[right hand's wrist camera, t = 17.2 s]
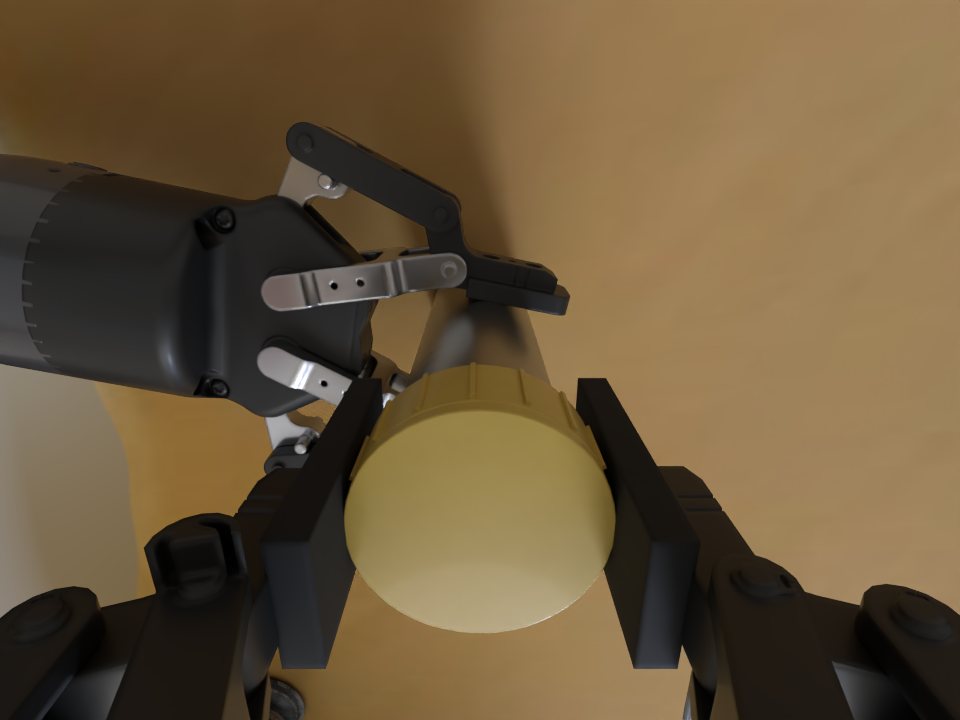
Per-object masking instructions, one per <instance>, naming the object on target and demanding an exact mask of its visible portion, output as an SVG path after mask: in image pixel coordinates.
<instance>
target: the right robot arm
mask: <svg viewBox="0 0 960 720" xmlns="http://www.w3.org/2000/svg"><path fill="white" fill-rule="evenodd" d="M383 409H384V405H383V392H382V378H354V379H353V380H352V382H351V384H350V386H349V387H348V389H347V391H346V392H345V394H344V396H343V398H342V399H341V401H340V403H339V405H338V406H337V408H336V410H335V411H334V413H333V415H332V417H331V418H330V420H329V422H328V423H327V425H326V427H325V429H324V430H323V432H322V434H321V435H320V437H319V439H318V441H317V442H316V444H315V446H314V447H313V449H312V451H311V453H310V454H309V456H308V458H307V460H306V461H305V463H304V465H303V466H302V468H276V469H274V470H273V471H271V472H270V473H269V474H267V475H266V476H265V477H263V478H262V479H260V480H259V481H258V482H257V483H256V485H255V486H254V488H253V489H252V490H251V492H250V493H249V495H248V496H247V500H245V501H244V502H243V503H242V505H241V506H240V508H239V509H238V513H235V515H234V516H233V517H232V516H229V515H225V514H221V513H204V514H198V515H195V516H191V517H187V518H183V519H181V520H179V521H177V522H175V523H173V524H170V525H168V526H166V527H165V528H164V529H162V530H161V531H160V532H158V533H157V534H155V535H154V536H153V537H152V538H151V539H150V541H149V542H148V543H147V545H146V546H145V547H144V550H145V554H146V557H147V561H148V565H149V568H150V572H151V575H152V579H153V582H154V586H155V589H156V593H155V594H153V595H150V596H147V597H143V598H140V599H135V600H131V601H127V602H123V603H119V604H114V605H110V606H105V607H101V608H100V605H99V602H98V599H97V596H96V595H95V594H94V593H93V592H92V591H91V590H89V589H88V588H82V587H75V586H72V587H66V588H59V589H54V590H51V591H48V592H45V593H43V594H40V595H37V596H34V597H32V598H30V599H28V600H27V601H25V602H23V603H21V604H19V605H18V606H16V607H14V608H12V609H11V610H10V611H9V612H7V613H6V614H5V615H4V616H2V617H1V618H0V720H269V711H270V701H271V684H270V677H269V672H268V669H269V666H270V664H271V661H272V659H273V657H274V654H275V652H276V649H277V647H278V649H279V654H280V659H281V665H282V669H326V666H327V663H328V660H329V656H330V653H331V650H332V646H333V643H334V640H335V637H336V633H337V630H338V627H339V623H340V620H341V617H342V614H343V610H344V607H345V604H346V600H347V597H348V594H349V590H350V587H351V584H352V581H353V577H354V574H355V571H356V567H355V565H354V563H353V561H352V559H351V556H350V553H349V551H348V548H347V543H346V535H345V525H344V508H345V501H346V497H347V494H348V491H349V488H350V485H351V482H352V481H350V480H349V477H350V474H351V472H352V469H353V467H354V465H355V462H356V460H357V457H358V455H359V453H360V450H361V448H362V445H363V443H364V441H365V438H366V436H370V435H371V432H372V430H373V428H374V426H375V424H376V422H377V420H378V418H379V417H380V415H381V414H382V412H383ZM576 411H577V413H578V414H579V416H580V417H581V419H582V420H583V422H584V424H585V426H588V425H589V426H590V429H591V431H592V433H593V436H594V438H595V441H596V443H597V445H598V448H599V450H600V453H601V455H602V457H603V460H604V462H605V465H606V467H607V468H606V469H604V470H603V471H604V473H605V476H606V478H607V481H608V483H609V486H610V488H611V492H612V495H613V499H614V502H615V511H616V522H615V532H614V540H613V547H612V550H611V553H610V555H609V558H608V561H607V563H606V564H605V566H604V572H605V575H606V578H607V582H608V585H609V588H610V591H611V595H612V598H613V601H614V605H615V608H616V611H617V615H618V618H619V621H620V624H621V628H622V631H623V634H624V638H625V641H626V644H627V647H628V651H629V654H630V657H631V661H632V664H633V667H634V669H677V668H678V663H679V658H680V652H681V647H682V645H683V648H684V650H685V652H686V655H687V657H688V660H689V662H690V664H691V667H692V672H691V677H690V682H689V687H688V693H687V698H686V703H685V708H684V714H683V720H690V718H691V720H960V615H959V614H957V613H956V612H955V611H954V610H952V609H951V608H950V607H949V606H947V605H945V604H944V603H942V602H940V601H938V600H936V599H934V598H933V597H931V596H929V595H927V594H924V593H922V592H919V591H916V590H913V589H910V588H907V587H903V586H897V585H890V584H883V585H876V586H872V587H870V588H869V589H868V590H867V591H866V592H865V593H864V595H863V598H862V601H861V604H860V605H855V604H851V603H847V602H843V601H838V600H834V599H830V598H825V597H821V596H817V595H814V594H810V593H807V592H804V590H803V588H802V587H801V585H800V584H799V582H798V581H797V579H796V578H795V577H794V576H793V575H791V574H790V573H789V572H788V571H787V570H785V569H784V568H783V567H781V566H779V565H777V564H776V563H774V562H772V561H770V560H768V559H766V558H762V557H759V556H755V555H754V553H753V552H752V550H751V549H750V547H749V546H748V545H747V543H746V542H745V540H744V539H743V537H742V536H741V535H740V533H739V532H738V530H737V529H736V527H735V526H734V525H733V523H732V522H731V520H730V519H729V517H728V516H727V515H726V513H725V512H724V511H722V507H721V506H720V505H719V503H718V502H717V500H716V499H715V498H713V495H712V493H711V492H710V490H709V489H708V487H707V486H706V484H705V483H704V482H703V480H702V479H701V478H699V477H698V476H696V475H695V474H694V473H692V472H691V471H689V470H688V469H687V468H685V467H684V466H657V465H656V464H655V462H654V460H653V458H652V457H651V455H650V453H649V451H648V450H647V448H646V446H645V445H644V443H643V441H642V439H641V438H640V436H639V434H638V433H637V431H636V429H635V427H634V426H633V424H632V422H631V421H630V419H629V417H628V415H627V414H626V412H625V410H624V409H623V407H622V405H621V403H620V402H619V400H618V398H617V396H616V395H615V393H614V391H613V390H612V388H611V386H610V384H609V383H608V381H607V379H606V378H578V387H577V401H576Z"/></svg>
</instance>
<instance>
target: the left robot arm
mask: <svg viewBox="0 0 960 720" xmlns="http://www.w3.org/2000/svg"><path fill="white" fill-rule="evenodd" d="M286 145H287V148H288V150H289V152H290V154H291V158H290V161H289V164H288V166H287V169H286V172H285V175H284V177H283V180H282V183H281V186H280V188H279V191H278V194H277V195H270V196H265V197H262V198H260V199H257V200H242V199H237V198H232V197H227V196H222V195H217V194H213V193H208V192H203V191H198V190H193V189H188V188H183V187H178V186H173V185H169V184H164V183H159V182H154V181H149V180H144V179H139V178H134V177H129V176H125V175H120V174H115V173H110V172H108V171H107V170H104V169H102V168H98V167H95V166H91V165H87V164H82V163H77V162H73V163H67V164H66V163H61V162H57V161H52V160H46V159H40V158H34V157H27V156H18V155H7V154H0V364H5V365H10V366H15V367H21V368H26V369H32V370H38V371H43V372H49V373H54V374H60V375H65V376H71V377H77V378H82V379H88V380H93V381H99V382H105V383H111V384H116V385H122V386H128V387H133V388H139V389H145V390H150V391H156V392H161V393H167V394H173V395H178V396H184V397H193V398H224V399H229V400H231V401H234V402H236V403H238V404H240V405H242V406H243V407H245V408H246V409H248V410H249V411H250V412H252V413H254V414H256V415H258V416H262V417H264V418H265V422H266V426H267V430H268V434H269V438H270V442H271V446H272V453H271V454H270V456H269V457H268V459H267V460H266V462H265V464H264V471H265V473H266V475H267V474H269V473H270V472H271V471H273V470H274V469H276V468H302V466H303V465H304V463H305V461H306V460H307V458H308V456H309V454H310V453H311V451H312V449H313V447H314V446H315V444H316V442H317V441H318V439H319V437H320V435H321V434H322V432H323V430H324V429H325V427H326V425H325V424H324V422H323V420H322V418H320V417H308V416H304V415H302V414H301V413H299V412H298V411H297V410H296V409H299V408H301V407H303V406H305V405H308V404H310V403H312V402H315V401H317V400H319V399H323V400H325V401H327V402H329V403H331V404H333V405H335V406H338V405H339V403H340V401H341V399H342V398H343V396H344V394H345V392H346V391H347V389H348V387H349V386H350V384H351V382H352V380H353V379H354V378H382V392H383V405H384V406H385V404H386V402H387V401H388V400H389V399H390V400H391V401H392V400H393V399H394V398H395V397H396V396H397V395H398V394H399V393H401V392H402V391H403V390H404V389H405V388H406V385H407V382H408V379H409V376H410V374H408V373H406V372H404V371H402V370H400V369H399V368H398V367H397V365H396V364H395V363H394V362H393V361H392V360H390V359H389V358H387V357H385V356H383V355H381V354H379V353H377V352H375V351H373V350H371V349H372V342H373V337H372V330H371V323H370V319H371V317H372V314H373V312H374V310H375V308H376V305H377V303H378V299H383V298H390V297H395V296H398V295H401V294H403V293H408V292H417V291H426V290H435V289H444V288H453V287H456V288H461V289H466V297H467V298H472V299H477V300H482V301H489V302H494V303H497V304H502V305H507V306H513V307H518V308H523V309H528V310H533V311H538V312H543V313H548V314H553V315H565V314H566V310H567V306H568V302H569V299H570V295H569V293H568V292H567V290H566V289H565V288H564V287H563V286H560V285H557V281H558V279H557V278H556V276H555V275H554V273H553V272H552V271H551V270H549V269H548V268H546V267H545V266H543V265H542V264H539V263H534V262H529V261H524V260H519V259H514V258H509V257H504V256H499V255H494V254H489V253H484V252H480V251H477V250H475V249H473V248H472V247H471V246H470V245H469V244H468V243H467V241H466V239H465V236H464V231H463V225H462V218H461V204H460V201H459V199H458V198H457V197H456V196H455V195H454V194H452V193H451V192H449V191H447V190H445V189H443V188H441V187H439V186H438V185H436V184H434V183H432V182H430V181H428V180H426V179H425V178H423V177H421V176H419V175H417V174H415V173H413V172H412V171H410V170H408V169H406V168H404V167H402V166H400V165H398V164H397V163H395V162H393V161H391V160H389V159H387V158H385V157H384V156H382V155H380V154H378V153H376V152H374V151H372V150H371V149H369V148H367V147H365V146H363V145H361V144H359V143H358V142H356V141H354V140H352V139H350V138H348V137H346V136H345V135H343V134H341V133H339V132H337V131H335V130H333V129H331V128H329V127H325V126H321V125H317V124H313V123H307V122H299V123H296V124H294V125H293V126H292V127H291V128H290V129H289V131H288V133H287V136H286ZM352 190H355V191H357V192H359V193H361V194H363V195H365V196H367V197H369V198H371V199H373V200H374V201H376V202H378V203H380V204H382V205H384V206H386V207H388V208H390V209H392V210H394V211H396V212H398V213H399V214H401V215H403V216H405V217H407V218H409V219H411V220H413V221H415V222H417V223H419V224H421V225H422V226H424V227H426V233H427V238H428V244H429V245H427V246H418V247H394V248H385V249H376V250H368V251H359V252H357V251H356V250H355V249H354V248H353V247H352V246H351V245H350V244H349V243H348V242H347V241H346V240H345V239H344V238H343V237H342V236H341V235H340V234H339V233H338V232H337V231H336V230H335V229H334V228H333V227H332V226H331V225H330V224H329V223H328V222H327V221H326V220H325V219H324V218H323V217H322V216H321V215H320V214H319V213H318V212H317V211H316V210H315V209H314V208H313V207H312V206H311V205H310V204H311V202H312V201H313V200H314V199H315V198H316V197H318V196H321V197H325V198H328V199H338V198H342V197H345V196H347V195H348V194H350V193H351V191H352Z"/></svg>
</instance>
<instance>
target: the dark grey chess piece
mask: <svg viewBox="0 0 960 720" xmlns="http://www.w3.org/2000/svg"><path fill="white" fill-rule="evenodd" d="M270 684H271V701H270V711H269V720H302V718H303V716H304V712H305V705H304V702H303V699H302V698H301V696H300V695H299V694H298V692H296V691H295V690H294V689H293V688H292V687H290V686H288V685H286V684H285V683H283V682H280V681H276V680H273V679H270Z"/></svg>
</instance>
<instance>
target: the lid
mask: <svg viewBox="0 0 960 720" xmlns="http://www.w3.org/2000/svg"><path fill="white" fill-rule="evenodd" d="M606 468H607V467H606V465H605V462H604V460H603V457H602V455H601V453H600V450H599V448H598V445H597V443H596V441H595V438H594V436H593V433H592V431H591V429H590V426H589V425H588V426H585V424H584V422H583V420H582V419H581V417H580V416H579V414H578V413H577V411H576V410H575V408H574V407H573V406H572V405H571V404H570V403H569V401H568V400H567V398H566V395H565V393H564V392H563V391H561V392H560V393H559V392H558V391H557V390H556V389H554V388H553V387H551V386H550V385H548V384H547V383H545V382H544V381H542V380H540V379H538V378H536V377H534V376H532V375H529V374H527V373H525V371H524V370H523V369H519V371H518V370H515V369H511V368H506V367H501V366H494V365H476V363H475V362H472V363H471V365H465V366H459V367H453V368H448V369H445V370H442V371H438V372H435V373H433V374H431V375H428V373H426V374H424V375H423V378H422V379H420V380H418V381H416V382H415V383H413V384H411V385H410V386H408V387H407V388H406V389H404V390H403V391H402V392H401V393H399V394H398V395H397V396H396V397H395V398H394V399H393V400H392V401H391V400H390V399H389V400H388V401H387V402H386V404H385V406H384V409H383V412H382V414H381V415H380V417H379V418H378V420H377V422H376V424H375V426H374V428H373V430H372V432H371V435H370V436H366V438H365V441H364V443H363V445H362V448H361V450H360V453H359V455H358V457H357V460H356V462H355V465H354V467H353V469H352V472H351V474H350V477H349V480H350V481H352V482H351V485H350V488H349V491H348V494H347V497H346V501H345V508H344V525H345V535H346V543H347V548H348V551H349V553H350V556H351V559H352V561H353V563H354V565H355V567H356V569H357V571H358V572H359V574H360V575H361V577H362V578H363V580H364V581H365V582H366V584H367V585H368V586H369V587H370V588H371V589H372V590H373V591H374V592H375V593H376V595H378V596H379V597H380V598H381V599H382V600H383V601H385V602H386V603H387V604H388V605H390V606H391V607H393V608H394V609H396V610H397V611H399V612H400V613H402V614H404V615H406V616H408V617H410V618H412V619H414V620H416V621H419V622H421V623H424V624H427V625H429V626H432V627H436V628H440V629H444V630H449V631H455V632H461V633H477V634H480V633H498V632H505V631H511V630H515V629H520V628H524V627H527V626H530V625H533V624H536V623H539V622H541V621H543V620H546V619H548V618H550V617H552V616H554V615H556V614H557V613H559V612H561V611H562V610H564V609H565V608H567V607H569V606H570V605H571V604H572V603H574V602H575V601H576V600H577V599H579V598H580V597H581V596H582V595H583V594H584V593H585V592H586V591H587V590H588V589H589V588H590V587H591V586H592V584H593V583H594V582H595V580H596V579H597V578H598V576H599V575H600V573H601V572H602V570H603V568H604V566H605V564H606V563H607V561H608V558H609V555H610V553H611V550H612V547H613V540H614V532H615V522H616V511H615V502H614V499H613V495H612V492H611V488H610V486H609V483H608V481H607V478H606V476H605V473H604V471H603V470H604V469H606Z"/></svg>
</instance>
